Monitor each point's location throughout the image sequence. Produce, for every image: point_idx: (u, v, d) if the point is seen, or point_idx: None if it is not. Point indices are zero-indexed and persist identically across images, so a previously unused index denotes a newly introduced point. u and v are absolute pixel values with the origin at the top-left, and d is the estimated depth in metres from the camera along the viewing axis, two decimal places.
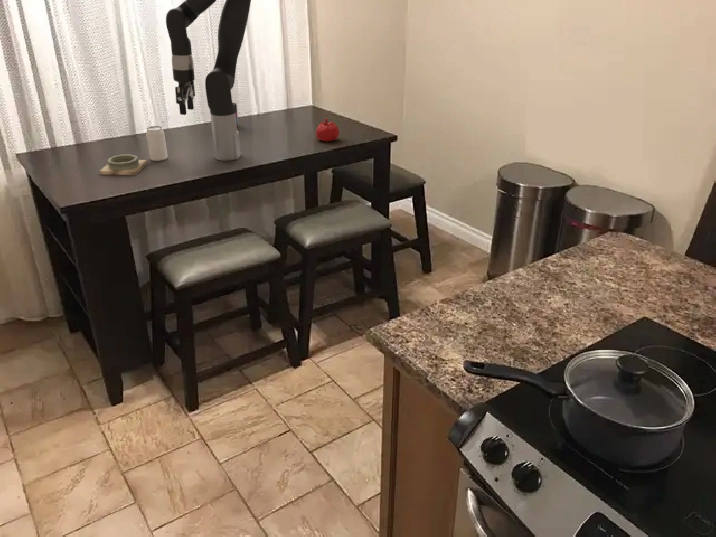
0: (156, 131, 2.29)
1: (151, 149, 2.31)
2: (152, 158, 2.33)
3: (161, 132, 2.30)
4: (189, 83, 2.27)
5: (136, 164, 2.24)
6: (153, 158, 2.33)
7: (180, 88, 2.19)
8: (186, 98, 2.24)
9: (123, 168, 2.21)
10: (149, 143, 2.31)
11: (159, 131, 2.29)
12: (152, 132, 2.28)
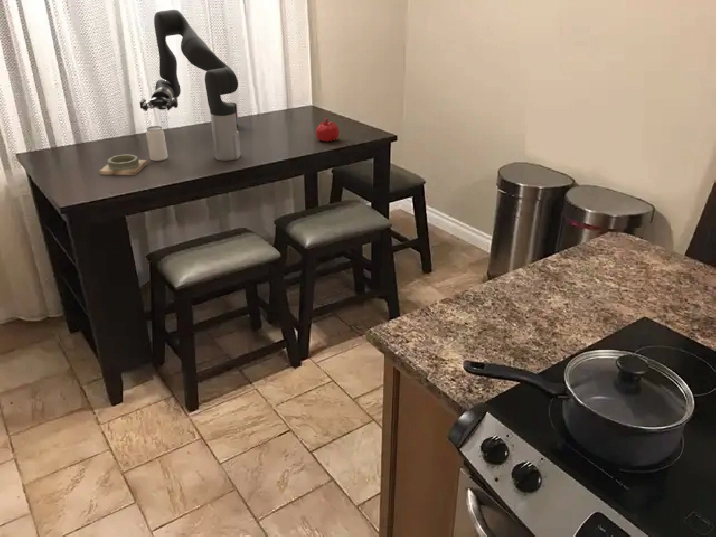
0: (156, 131, 2.29)
1: (151, 149, 2.31)
2: (152, 158, 2.33)
3: (161, 132, 2.30)
4: (165, 98, 2.46)
5: (136, 164, 2.24)
6: (153, 158, 2.33)
7: None
8: (148, 100, 2.42)
9: (123, 168, 2.21)
10: (149, 143, 2.31)
11: (159, 131, 2.29)
12: (152, 132, 2.28)
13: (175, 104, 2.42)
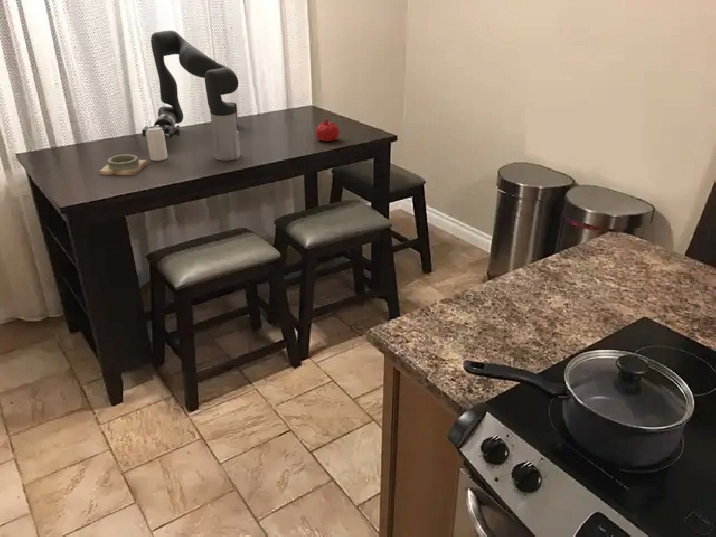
0: (156, 131, 2.29)
1: (151, 149, 2.31)
2: (152, 158, 2.33)
3: (161, 132, 2.30)
4: (168, 126, 2.47)
5: (136, 164, 2.24)
6: (153, 158, 2.33)
7: None
8: None
9: (123, 168, 2.21)
10: (149, 143, 2.31)
11: (159, 131, 2.29)
12: (152, 132, 2.28)
13: (177, 132, 2.43)
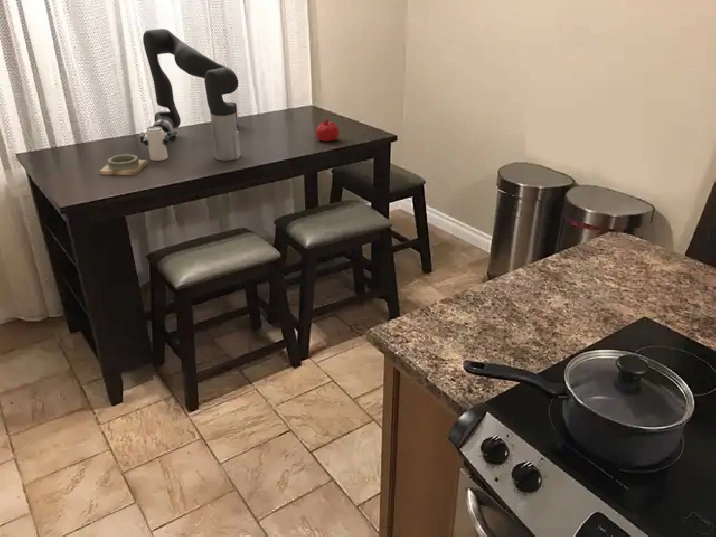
0: (156, 131, 2.29)
1: (151, 149, 2.31)
2: (152, 158, 2.33)
3: (161, 132, 2.30)
4: (165, 131, 2.40)
5: (136, 164, 2.24)
6: (153, 158, 2.33)
7: None
8: None
9: (123, 168, 2.21)
10: (149, 143, 2.31)
11: (159, 131, 2.29)
12: (152, 132, 2.28)
13: (172, 138, 2.35)
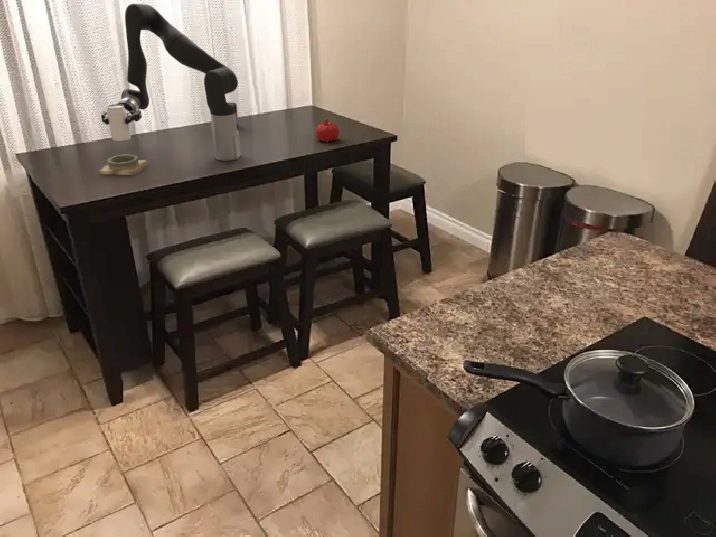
0: (117, 109, 2.14)
1: (112, 128, 2.17)
2: (114, 138, 2.19)
3: (123, 110, 2.16)
4: (128, 110, 2.25)
5: (136, 164, 2.24)
6: (115, 139, 2.19)
7: None
8: None
9: (123, 168, 2.21)
10: (110, 122, 2.16)
11: (120, 109, 2.15)
12: (113, 110, 2.14)
13: (135, 117, 2.21)
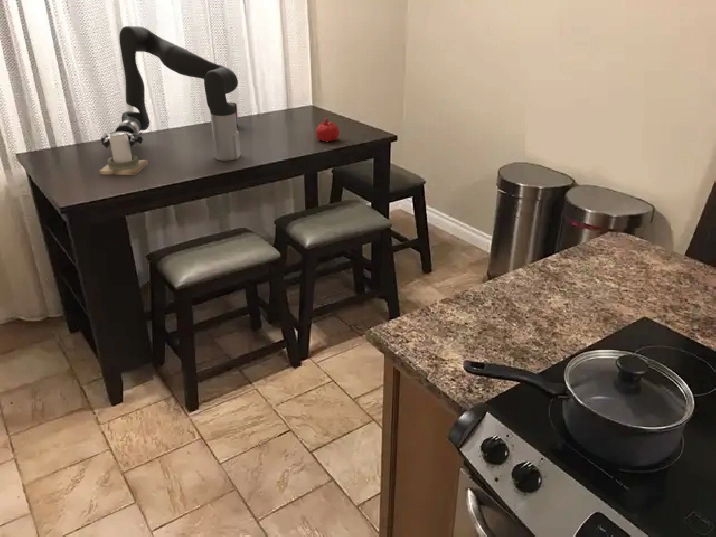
0: (119, 136, 2.18)
1: (114, 155, 2.21)
2: None
3: (125, 137, 2.19)
4: (129, 133, 2.28)
5: (136, 164, 2.24)
6: None
7: None
8: None
9: (123, 168, 2.21)
10: (112, 149, 2.20)
11: (123, 136, 2.19)
12: (115, 137, 2.18)
13: (139, 140, 2.24)
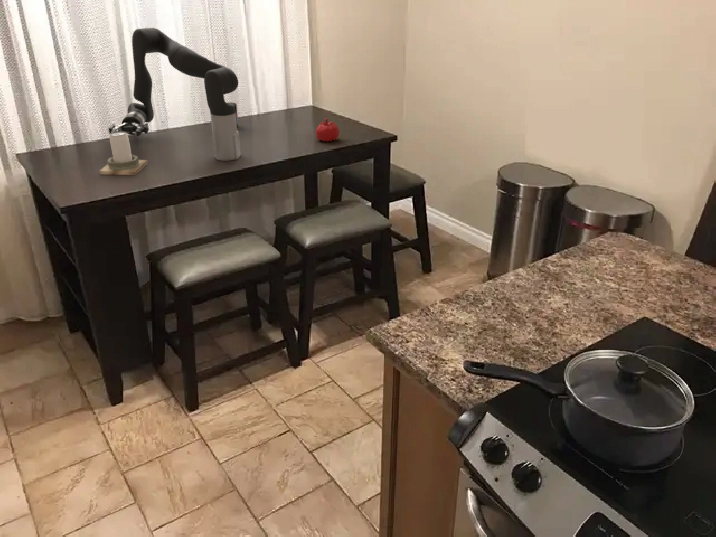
0: (120, 136, 2.18)
1: (115, 155, 2.21)
2: None
3: (125, 137, 2.19)
4: (135, 124, 2.39)
5: (136, 164, 2.24)
6: None
7: None
8: (118, 126, 2.35)
9: (123, 168, 2.21)
10: (113, 149, 2.20)
11: (123, 136, 2.19)
12: (115, 138, 2.18)
13: (145, 130, 2.35)
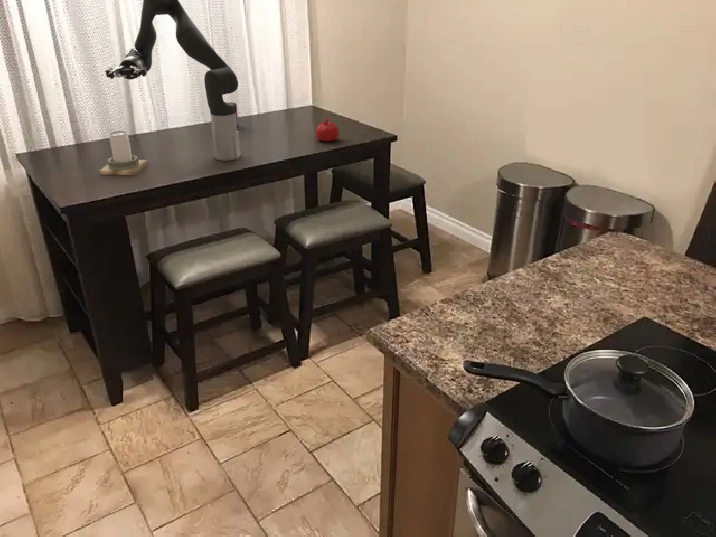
0: (120, 136, 2.18)
1: (115, 155, 2.21)
2: None
3: (125, 137, 2.19)
4: None
5: (136, 164, 2.24)
6: None
7: None
8: (115, 68, 2.31)
9: (123, 168, 2.21)
10: (113, 149, 2.20)
11: (123, 136, 2.19)
12: (115, 138, 2.18)
13: (143, 72, 2.31)
